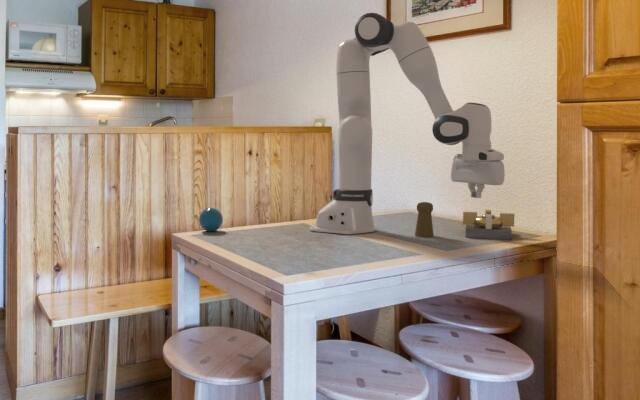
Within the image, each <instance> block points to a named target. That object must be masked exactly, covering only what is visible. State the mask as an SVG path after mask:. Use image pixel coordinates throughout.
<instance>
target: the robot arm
mask: <svg viewBox="0 0 640 400" xmlns="http://www.w3.org/2000/svg"><path fill="white" fill-rule="evenodd" d="M354 35H355V37H353V38H350V39H346V40H344V41H342V42H341V43H340V44H339V45H338V47H337V54H336V70H335V71H336V72H335V73H336V88H337V92H336V93H337V105H338V107H337V108H338V122H339V124H338V125H339V128H338V188H335V189H334V190H333V191H332V198H333V199H332V200H331V201H329V202H328V203H327V204H325V206H324V207H322V208H321V209H320V210H319V211H318V213H317V216H316V219H315V223H314V224H311V225H310V226H309V231H311V232H319V233H331V234H342V235H354V234H365V233H372V232H373V233H374V232H375V231H376V226H375V224H374V217H373V208H372V207H373V202H374V201H373V200H374V195H373V194H374V193H373V189H372V162H373V158H372V157H373V155H372V154H373V127H372V108H371V107H372V103H371V75H370V74H371V73H370V59H371V57H373V56H376V55H378V54H380V53H384V52H386V51H387V50H391V51H392V53H393V54H394V55H395V57H396V60H397V63H398V64H399V67H400V69H401V71H402V72H403V74H404V76H405V77H406V78H407V79H408V81H409V82H410V84H412V85H413V86H415V87H416V88H417V89H418V90H419V92H420V93H421V94H422V95H423V96H424V99H425V100H426V102H427V104H428V106H429V109H430V110H431V113H432V115H433V117H434V119H435V120H434V122H433V124H432V130H431V132H432V135H433V138H435V140H436V141H438V142H439V143H440V144H443V145H448V146H454V145H457V144H458V145H459V144H460V143H461V144H462V147H461V148H462V149H461V151H462V153H457V154H456V155H454V157H453V159H452V163H451V171H450V179H451V181H452V182H453V183H454V182H455V183H462V184H463V183H465V184H467V187H468V189H469V191H470V197H471V198H473V199H481V198H482V193H483V192H484V188H485V185H486V186H487V185H488V186H502V185H503V184H504V182H505V165H504V162H503V161H504V160H505V157H504V156H505V155H504V153H503V152H500V151H498V150H496V149H494V148H492V142H491V135H492V113H491V109H490V108H489V107H488V106H487V105H486V104H484V103H483V104H482V103H478V102H466V103H465V104H463V105H462V106H460V107H459V108H457V109H455V110H453V108H452V106H451V104H450V102H449V100H448V97H447V96H446V92H445V91H444V89H443V87H442V84H441V80H440V79H441V78H440V75H439V70H438V66H437V61H436V58H435V56H434V52H433V51H432V48H431V45H430V43H429V42H428V40H427V38H426V36H425V35H424V33H423V32H422V29H421V28H420V27H419V26H418V25H417V23H415V22H414V21H404V22H401V23H399V24H396V25H394V23H393V22H392V21H390V20H389V19H388V18H387V17H385V16H383V15H381V14H379V13H377V12H367V13H364V14H363V15H361V16H360V17H359V18H357V21H356V23H355V25H354ZM476 188H477V189H476Z"/></svg>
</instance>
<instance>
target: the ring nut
mask: <svg viewBox="0 0 640 400" xmlns="http://www.w3.org/2000/svg"><path fill="white" fill-rule="evenodd" d="M462 213H463V214H462V225H465V226H466V225H476V226H481V227H485V228H486V229H492V227H501V226H510V227H511V228H512V227H513V228H514V227H515V213H512V212H511V213H508V212H506V213H505V212H500V213H499V216H496V215H494V214H492V210H491V209H485V211H484V213H485V214H482V215H478V212H477V211H462Z"/></svg>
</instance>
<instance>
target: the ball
mask: <svg viewBox="0 0 640 400" xmlns="http://www.w3.org/2000/svg"><path fill="white" fill-rule="evenodd" d="M223 222H224V217H223V214H222V213H221V212H220V210H219V209H217V208H214V207H208V208H205V209H203V210H201V212H200V214H199V216H198V223H199V225H200V227H201V229H203V230H204V231H206V232H209V233H210V232H211V233H212V232H216V231H218V230H219V229H221V227H222V225H223Z"/></svg>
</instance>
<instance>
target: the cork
mask: <svg viewBox="0 0 640 400" xmlns="http://www.w3.org/2000/svg"><path fill="white" fill-rule="evenodd" d="M416 210H417V212H418V214H417V219H416V225H415V232H414V236H415V237H419V238H433V237H434V229H433V227H434V226H433V218H432V212H433V210H434V205H433V204H432V203H431V202H427V201H422V202H418V203H417V205H416Z"/></svg>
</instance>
